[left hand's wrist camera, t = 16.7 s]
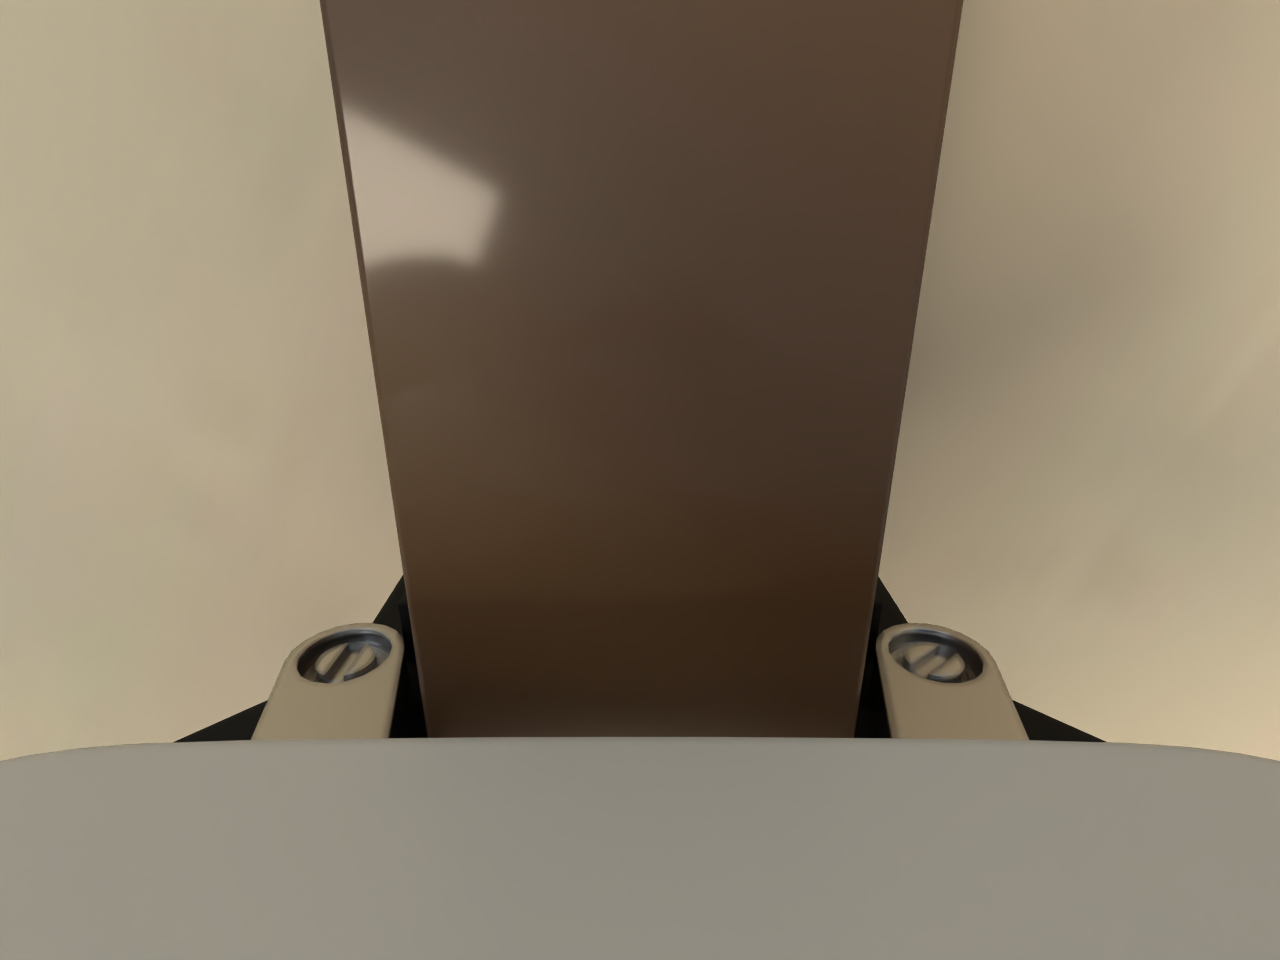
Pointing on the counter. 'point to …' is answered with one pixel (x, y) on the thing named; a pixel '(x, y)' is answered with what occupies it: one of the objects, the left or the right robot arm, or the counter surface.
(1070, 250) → the counter surface
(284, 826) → the left robot arm
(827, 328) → the beam
